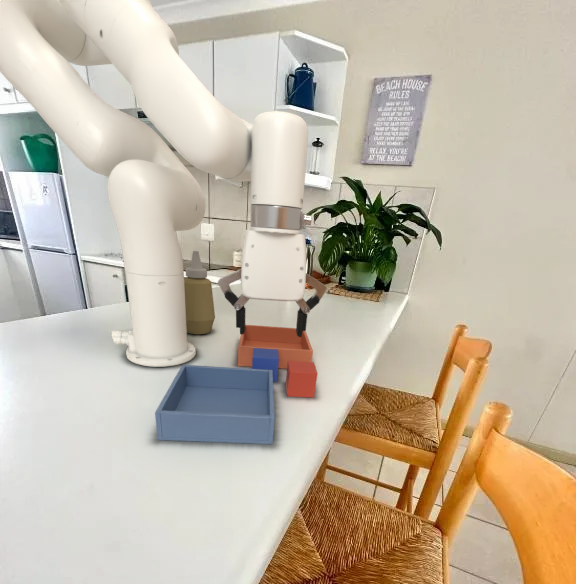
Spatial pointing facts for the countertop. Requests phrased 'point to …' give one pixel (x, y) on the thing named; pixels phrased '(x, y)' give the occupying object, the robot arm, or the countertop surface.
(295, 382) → the red block
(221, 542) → the countertop surface
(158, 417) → the blue bin
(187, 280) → the squeeze bottle
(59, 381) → the countertop surface
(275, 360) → the blue block
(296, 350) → the red bin
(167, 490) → the countertop surface
